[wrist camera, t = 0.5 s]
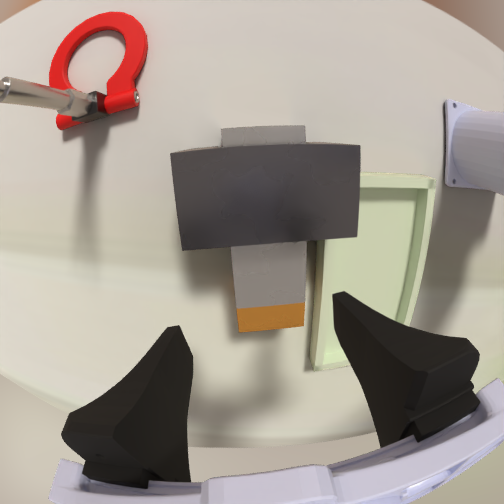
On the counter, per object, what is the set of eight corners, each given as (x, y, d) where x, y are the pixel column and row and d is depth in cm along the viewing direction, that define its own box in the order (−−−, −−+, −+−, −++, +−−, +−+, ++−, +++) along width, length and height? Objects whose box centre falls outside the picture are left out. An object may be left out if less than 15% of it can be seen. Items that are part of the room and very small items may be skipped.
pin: (289, 128, 18) (305, 125, 14) (291, 293, 23) (303, 326, 19) (223, 131, 18) (221, 128, 14) (237, 298, 23) (238, 332, 19)
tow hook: (58, 38, 13) (57, 135, 16) (-40, -6, 1) (-72, 143, 4) (149, 4, 14) (153, 106, 17) (86, -93, 1) (44, 52, 5)
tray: (421, 174, 20) (436, 178, 18) (392, 341, 27) (400, 353, 25) (317, 172, 19) (326, 176, 17) (309, 357, 26) (313, 371, 24)
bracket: (323, 142, 18) (360, 145, 13) (323, 209, 20) (357, 237, 15) (189, 149, 18) (170, 153, 12) (196, 218, 20) (182, 250, 14)
